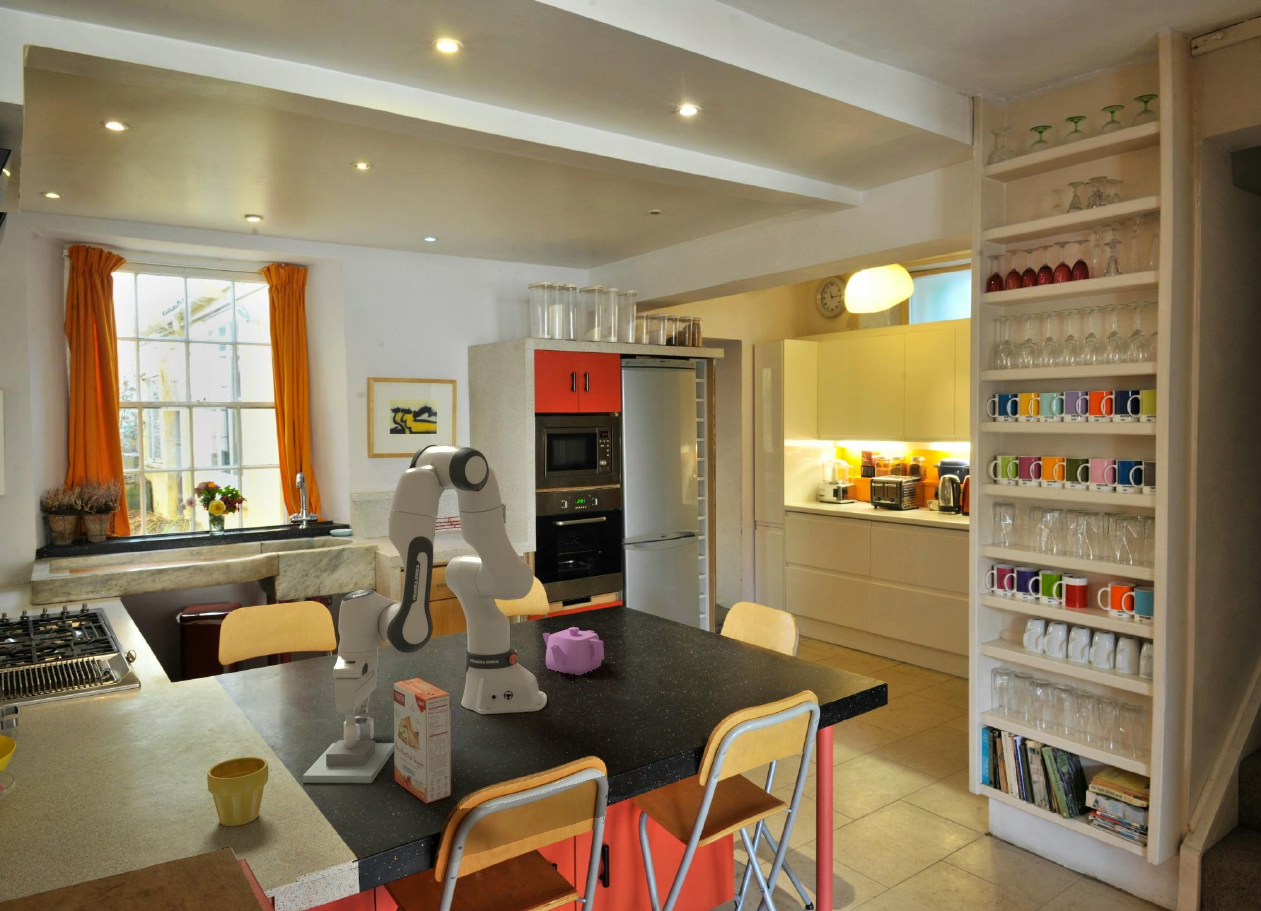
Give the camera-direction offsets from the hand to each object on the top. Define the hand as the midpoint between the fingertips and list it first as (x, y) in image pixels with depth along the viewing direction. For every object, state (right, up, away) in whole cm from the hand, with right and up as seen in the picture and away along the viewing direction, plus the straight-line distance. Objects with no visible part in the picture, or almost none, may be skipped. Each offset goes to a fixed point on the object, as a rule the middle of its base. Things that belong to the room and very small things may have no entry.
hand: (357, 720), depth 198 cm
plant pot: (-10, -6, -39) cm, 41 cm away
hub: (0, -5, +1) cm, 5 cm away
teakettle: (+46, -4, +61) cm, 77 cm away
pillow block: (+3, -5, -14) cm, 15 cm away
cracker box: (+21, -6, -26) cm, 34 cm away
